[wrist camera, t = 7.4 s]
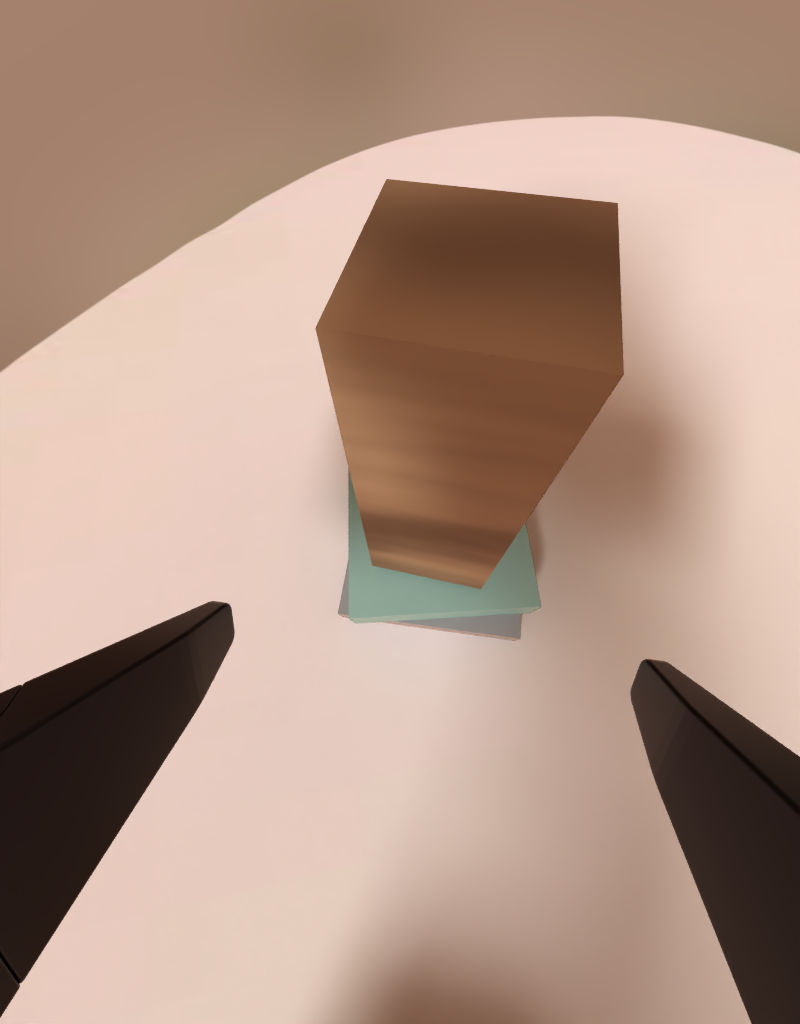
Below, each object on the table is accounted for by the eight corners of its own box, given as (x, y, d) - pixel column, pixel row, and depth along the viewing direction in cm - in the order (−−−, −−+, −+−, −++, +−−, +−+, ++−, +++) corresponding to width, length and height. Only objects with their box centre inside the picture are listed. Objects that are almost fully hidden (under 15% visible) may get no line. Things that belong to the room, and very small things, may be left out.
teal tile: (529, 612, 19) (541, 606, 17) (355, 623, 19) (348, 618, 17) (502, 460, 22) (510, 441, 20) (354, 471, 23) (348, 453, 21)
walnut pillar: (480, 589, 17) (623, 373, 6) (372, 565, 18) (315, 328, 6) (494, 493, 19) (617, 203, 8) (397, 474, 20) (386, 178, 9)
